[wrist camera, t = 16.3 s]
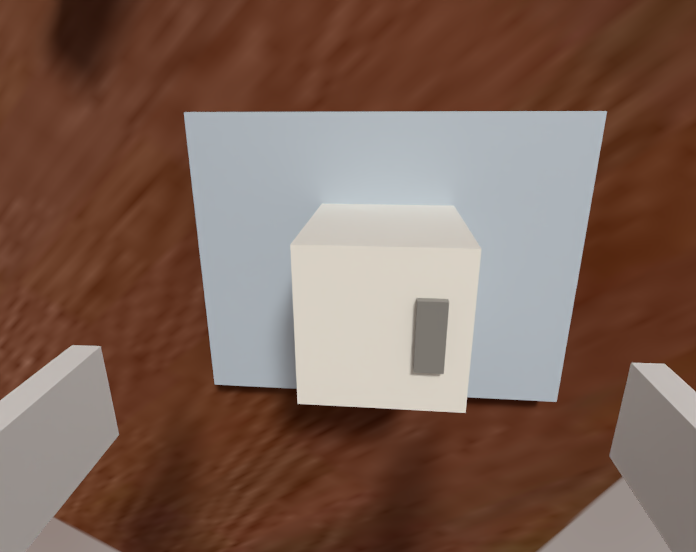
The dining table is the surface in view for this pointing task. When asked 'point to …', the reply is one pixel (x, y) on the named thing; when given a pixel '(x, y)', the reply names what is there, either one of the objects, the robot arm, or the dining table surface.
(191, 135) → the panel
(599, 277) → the dining table surface
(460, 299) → the cream box with handle
